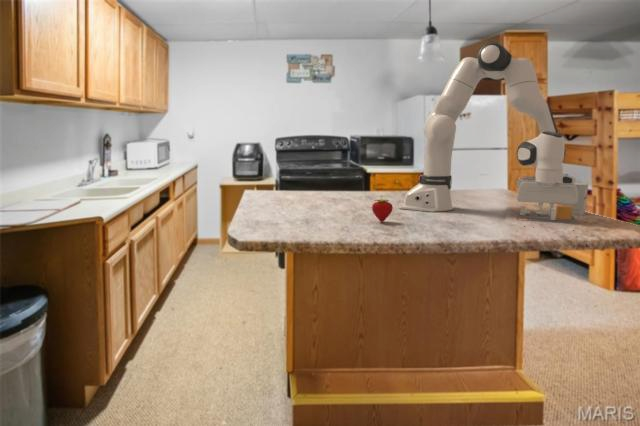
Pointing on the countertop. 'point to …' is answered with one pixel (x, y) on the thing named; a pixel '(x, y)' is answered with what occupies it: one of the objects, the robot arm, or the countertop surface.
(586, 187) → the supplement box
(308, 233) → the countertop surface
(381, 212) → the strawberry
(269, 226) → the countertop surface
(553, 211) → the tagged breaker
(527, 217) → the breaker panel
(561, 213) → the orange block
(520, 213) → the untagged breaker
